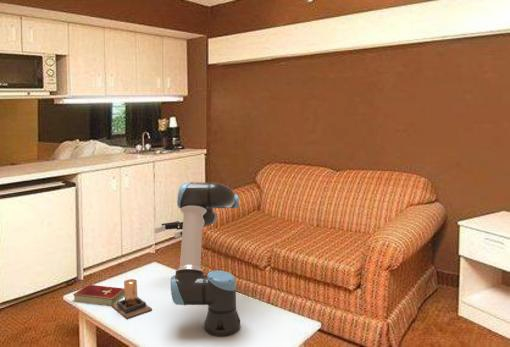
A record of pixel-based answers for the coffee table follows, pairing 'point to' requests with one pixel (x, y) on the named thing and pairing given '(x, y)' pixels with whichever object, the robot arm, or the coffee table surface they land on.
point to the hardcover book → (99, 294)
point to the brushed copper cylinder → (130, 292)
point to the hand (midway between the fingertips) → (164, 233)
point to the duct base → (131, 308)
